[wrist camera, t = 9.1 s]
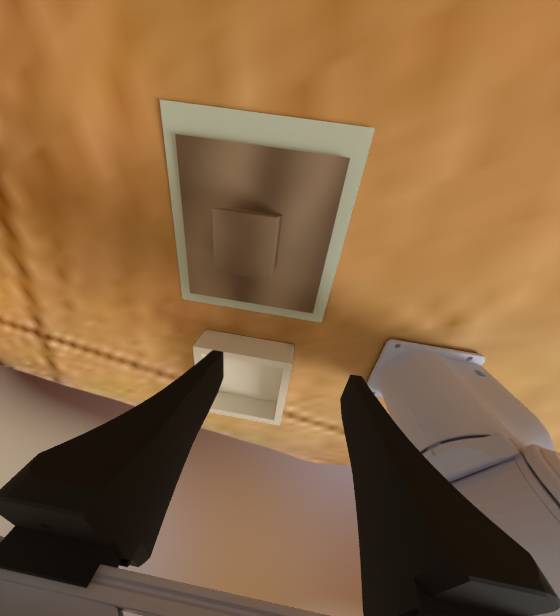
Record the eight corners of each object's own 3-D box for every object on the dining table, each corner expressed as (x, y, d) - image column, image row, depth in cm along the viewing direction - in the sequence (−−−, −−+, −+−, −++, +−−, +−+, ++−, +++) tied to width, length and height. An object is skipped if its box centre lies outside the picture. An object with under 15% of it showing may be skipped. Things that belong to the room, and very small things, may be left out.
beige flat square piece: (373, 129, 13) (375, 128, 13) (321, 321, 20) (321, 323, 20) (162, 101, 14) (159, 99, 13) (183, 298, 21) (182, 299, 20)
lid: (348, 159, 14) (364, 143, 10) (312, 310, 19) (314, 335, 16) (179, 136, 14) (136, 112, 11) (193, 290, 20) (167, 310, 16)
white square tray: (294, 344, 22) (293, 364, 19) (282, 403, 27) (279, 425, 24) (206, 329, 22) (192, 346, 20) (209, 389, 27) (199, 410, 24)
